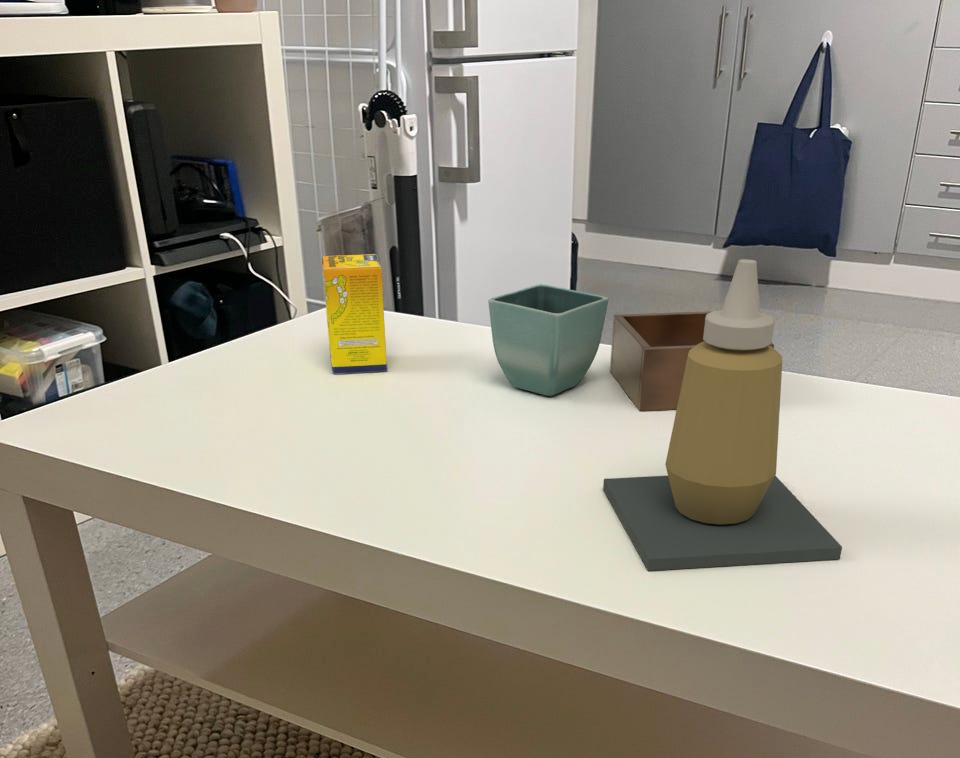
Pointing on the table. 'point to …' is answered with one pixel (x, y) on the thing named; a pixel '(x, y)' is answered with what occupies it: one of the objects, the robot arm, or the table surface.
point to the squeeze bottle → (728, 411)
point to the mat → (716, 529)
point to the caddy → (654, 355)
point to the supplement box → (355, 313)
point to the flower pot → (546, 336)
